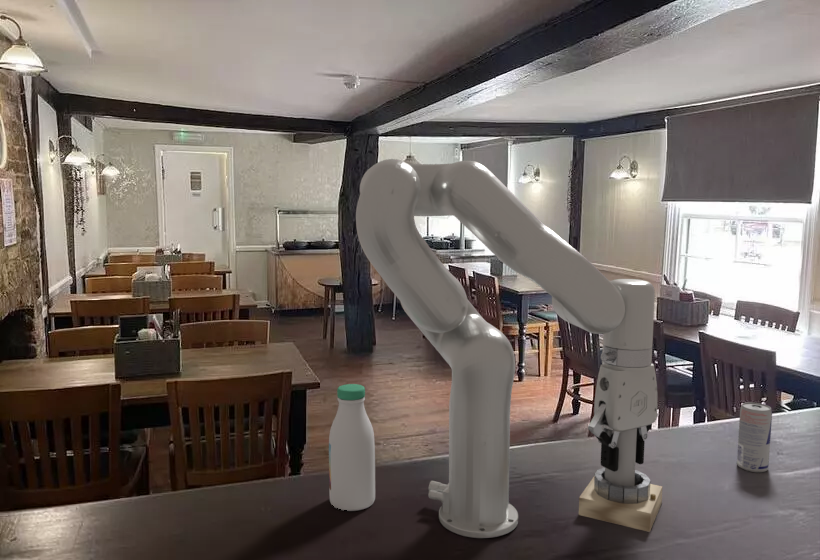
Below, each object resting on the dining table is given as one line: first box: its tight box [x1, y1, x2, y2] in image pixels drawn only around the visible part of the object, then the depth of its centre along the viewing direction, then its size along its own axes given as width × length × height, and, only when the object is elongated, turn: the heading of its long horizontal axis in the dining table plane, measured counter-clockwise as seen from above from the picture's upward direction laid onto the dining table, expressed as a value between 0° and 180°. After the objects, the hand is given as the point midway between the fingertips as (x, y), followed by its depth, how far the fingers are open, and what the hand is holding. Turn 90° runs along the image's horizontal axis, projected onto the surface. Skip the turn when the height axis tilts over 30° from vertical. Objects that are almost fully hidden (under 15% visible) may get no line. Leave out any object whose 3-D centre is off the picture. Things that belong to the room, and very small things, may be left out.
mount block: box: [578, 475, 663, 533], centre depth 107 cm, size 11×11×4 cm
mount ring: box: [593, 467, 652, 504], centre depth 107 cm, size 8×8×2 cm
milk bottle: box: [328, 383, 376, 512], centre depth 109 cm, size 8×8×20 cm
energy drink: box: [736, 401, 773, 473], centre depth 123 cm, size 5×5×12 cm
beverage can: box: [604, 428, 637, 486], centre depth 107 cm, size 5×5×12 cm
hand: (622, 463), depth 106 cm, fingers open, 5 cm apart
